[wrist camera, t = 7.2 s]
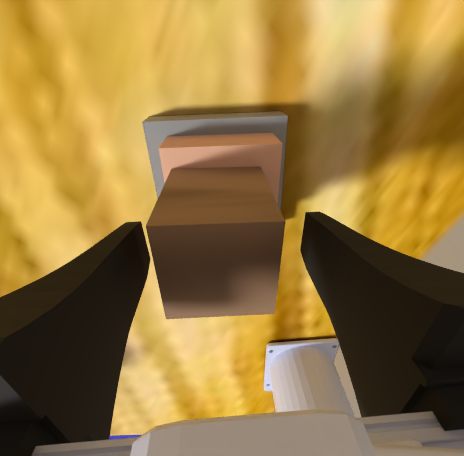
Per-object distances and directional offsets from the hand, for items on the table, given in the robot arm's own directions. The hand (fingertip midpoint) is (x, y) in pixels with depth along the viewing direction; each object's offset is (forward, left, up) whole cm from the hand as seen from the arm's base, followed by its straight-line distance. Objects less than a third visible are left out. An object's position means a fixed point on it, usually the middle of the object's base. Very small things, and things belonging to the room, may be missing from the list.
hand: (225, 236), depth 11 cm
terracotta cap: (0, 0, -6) cm, 6 cm away
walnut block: (0, 0, -3) cm, 3 cm away
